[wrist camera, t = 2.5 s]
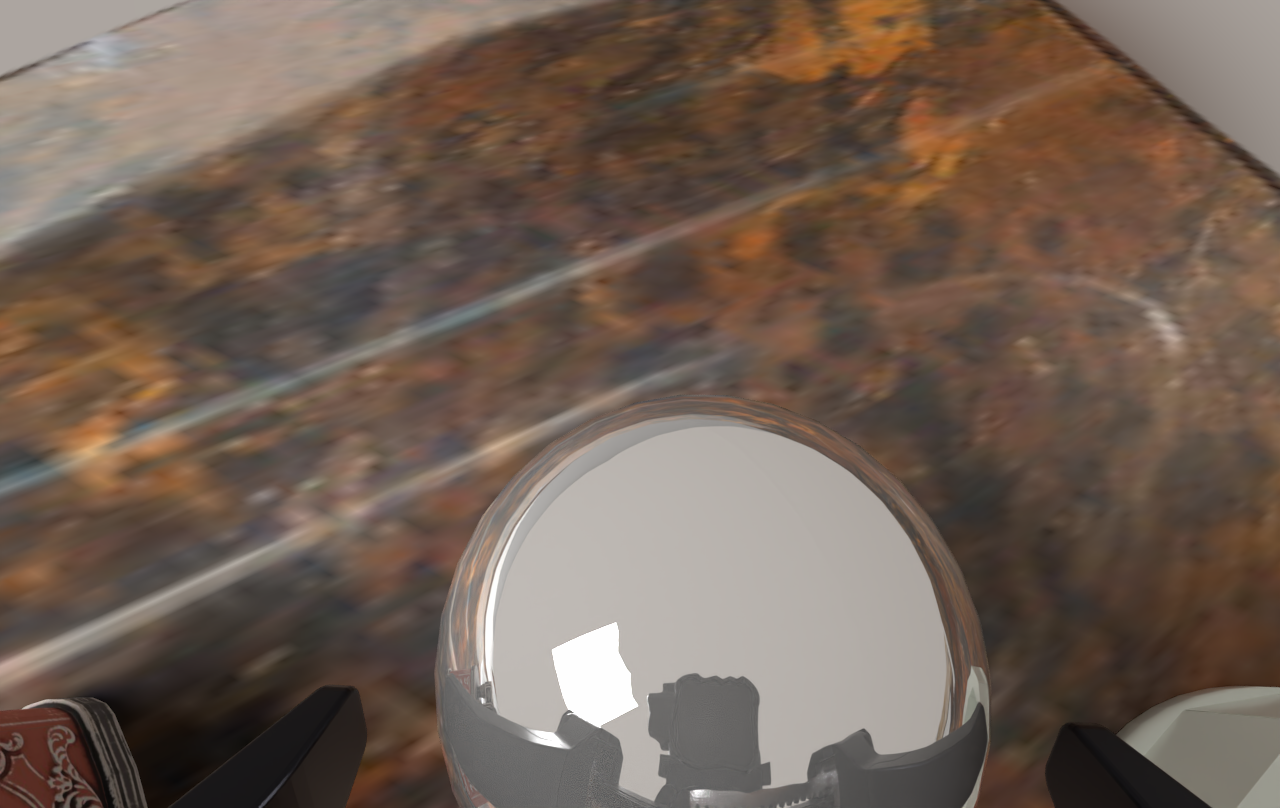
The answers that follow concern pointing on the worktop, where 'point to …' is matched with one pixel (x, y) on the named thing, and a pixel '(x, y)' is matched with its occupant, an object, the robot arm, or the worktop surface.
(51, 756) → the lighter
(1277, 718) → the bulb holder
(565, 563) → the light bulb
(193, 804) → the robot arm
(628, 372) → the worktop surface
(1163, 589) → the worktop surface
